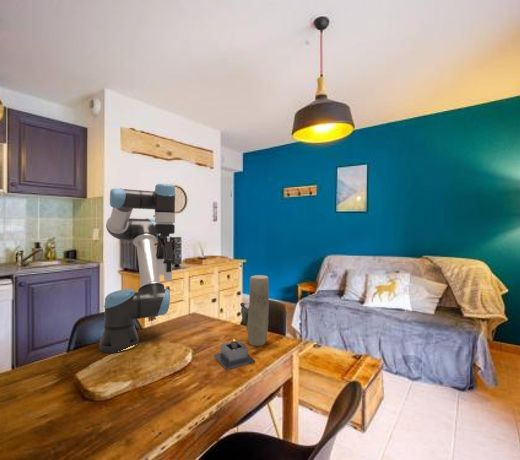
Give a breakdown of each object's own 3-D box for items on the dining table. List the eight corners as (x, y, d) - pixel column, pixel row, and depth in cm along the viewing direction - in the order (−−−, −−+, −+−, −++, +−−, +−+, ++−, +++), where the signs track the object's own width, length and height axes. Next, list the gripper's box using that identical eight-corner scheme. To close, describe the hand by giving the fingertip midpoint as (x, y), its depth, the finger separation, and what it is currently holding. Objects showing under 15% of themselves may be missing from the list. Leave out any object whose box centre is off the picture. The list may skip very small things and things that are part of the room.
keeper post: (214, 356, 113) (214, 336, 113) (240, 350, 119) (241, 331, 119) (226, 370, 102) (226, 348, 102) (254, 362, 109) (255, 341, 108)
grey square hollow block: (220, 355, 112) (220, 344, 112) (238, 351, 116) (238, 340, 116) (228, 364, 105) (229, 352, 105) (247, 359, 109) (247, 347, 109)
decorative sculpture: (235, 343, 126) (236, 276, 125) (244, 335, 135) (245, 273, 134) (263, 348, 121) (264, 279, 120) (271, 340, 130) (272, 275, 129)
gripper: (149, 223, 119) (148, 273, 120) (161, 223, 98) (160, 284, 98) (167, 223, 123) (166, 272, 123) (183, 224, 102) (182, 282, 102)
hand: (164, 277), depth 111 cm, fingers open, 13 cm apart
